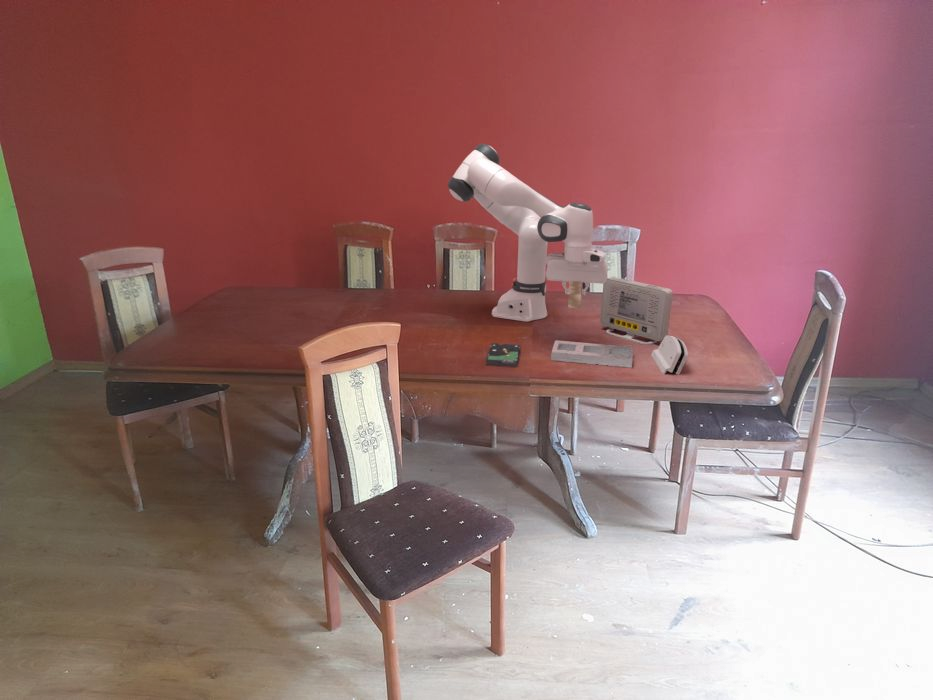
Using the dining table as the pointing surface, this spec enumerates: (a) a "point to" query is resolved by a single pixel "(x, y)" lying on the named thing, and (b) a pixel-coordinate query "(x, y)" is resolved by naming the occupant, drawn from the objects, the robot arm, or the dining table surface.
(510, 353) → the disk drive
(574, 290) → the maple block
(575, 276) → the robot arm
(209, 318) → the dining table surface
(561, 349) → the grey flat frame
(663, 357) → the white rounded block
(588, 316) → the dining table surface
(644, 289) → the network device
